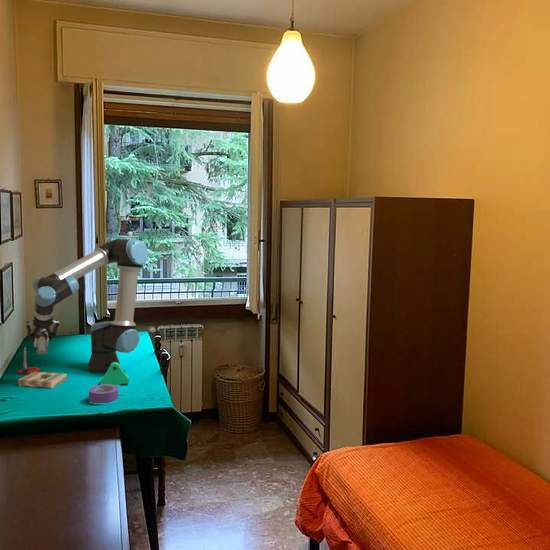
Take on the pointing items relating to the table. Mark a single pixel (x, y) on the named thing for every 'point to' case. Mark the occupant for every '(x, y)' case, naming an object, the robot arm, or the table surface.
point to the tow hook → (25, 369)
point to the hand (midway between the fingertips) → (41, 344)
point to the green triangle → (115, 375)
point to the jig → (42, 379)
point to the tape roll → (103, 393)
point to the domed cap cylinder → (41, 341)
